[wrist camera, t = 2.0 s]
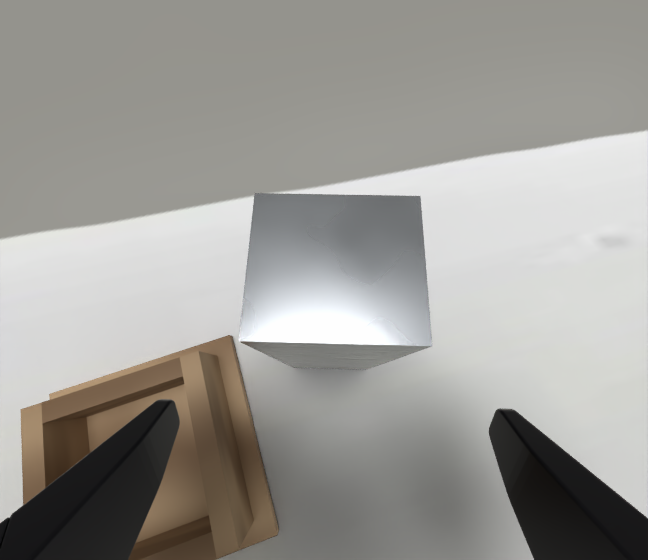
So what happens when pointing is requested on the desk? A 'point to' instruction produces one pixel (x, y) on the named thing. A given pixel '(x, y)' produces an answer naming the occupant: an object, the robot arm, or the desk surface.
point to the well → (186, 456)
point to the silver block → (336, 280)
